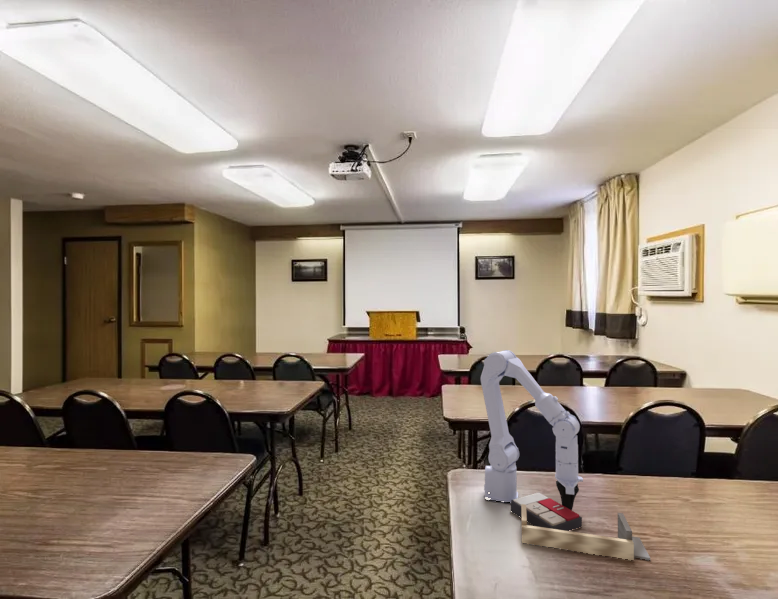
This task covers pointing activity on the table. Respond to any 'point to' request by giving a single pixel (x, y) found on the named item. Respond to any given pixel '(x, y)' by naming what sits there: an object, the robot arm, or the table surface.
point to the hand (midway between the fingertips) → (567, 510)
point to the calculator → (546, 512)
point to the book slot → (586, 540)
